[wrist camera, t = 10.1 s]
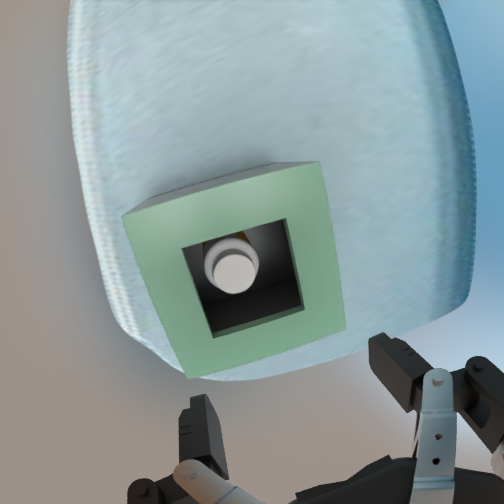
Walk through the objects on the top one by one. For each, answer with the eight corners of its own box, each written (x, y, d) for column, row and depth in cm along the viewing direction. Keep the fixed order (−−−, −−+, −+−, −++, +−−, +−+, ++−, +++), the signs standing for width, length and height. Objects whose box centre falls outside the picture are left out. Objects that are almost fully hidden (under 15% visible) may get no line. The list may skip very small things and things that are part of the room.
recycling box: (148, 198, 34) (121, 217, 21) (275, 162, 36) (319, 161, 23) (188, 313, 39) (188, 379, 26) (300, 279, 41) (346, 328, 28)
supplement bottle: (249, 260, 38) (266, 296, 29) (205, 267, 38) (209, 306, 28) (244, 217, 37) (261, 241, 27) (198, 224, 36) (199, 251, 26)
